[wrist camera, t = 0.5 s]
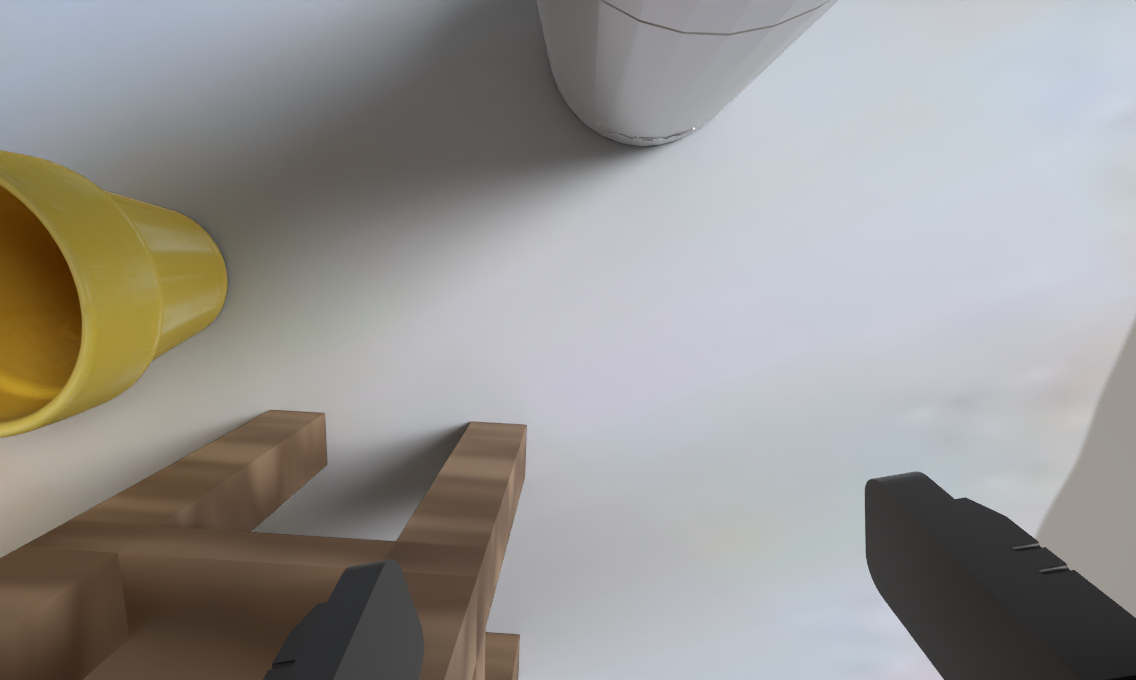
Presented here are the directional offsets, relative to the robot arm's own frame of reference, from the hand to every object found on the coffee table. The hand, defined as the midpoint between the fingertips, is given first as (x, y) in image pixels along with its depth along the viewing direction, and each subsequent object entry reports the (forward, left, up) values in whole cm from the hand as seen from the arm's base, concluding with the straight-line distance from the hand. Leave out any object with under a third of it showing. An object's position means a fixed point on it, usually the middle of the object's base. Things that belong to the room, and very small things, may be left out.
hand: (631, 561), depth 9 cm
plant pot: (-2, -23, -19) cm, 30 cm away
